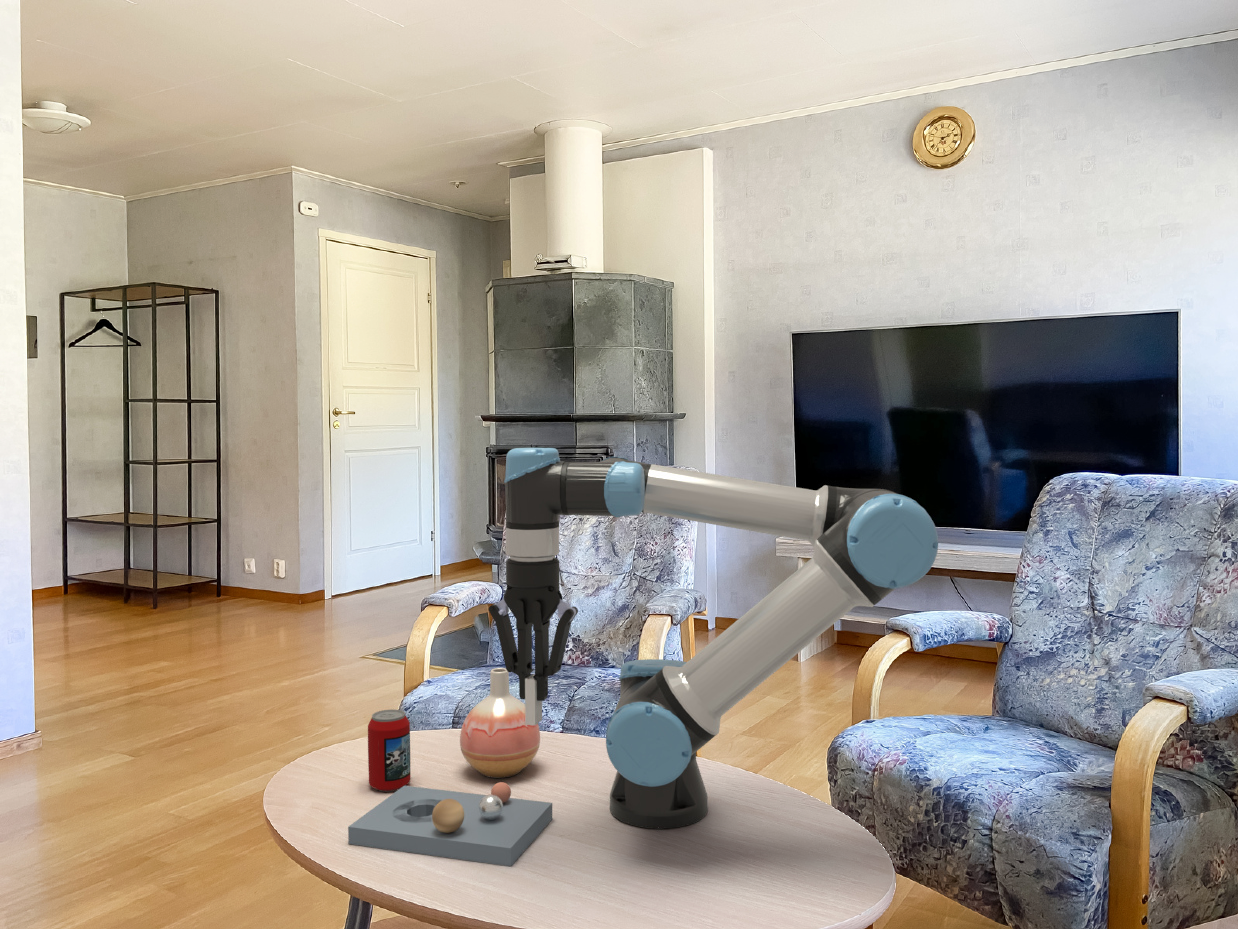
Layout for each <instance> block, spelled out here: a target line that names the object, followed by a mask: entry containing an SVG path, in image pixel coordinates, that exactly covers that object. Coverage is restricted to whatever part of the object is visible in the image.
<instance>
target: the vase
mask: <svg viewBox="0 0 1238 929" xmlns="http://www.w3.org/2000/svg"><path fill="white" fill-rule="evenodd" d="M509 673H510V672H508V671H507V670H506V667H497V668H492V669H491V670H490V672H489V674H490V680H489V682H490V683H489V684H490V685H489V687H490V688H489V694H488V695H487V696H486V697H485V698H484V699H482V700H481V701H479V702H478V703H477V704H476V705H474V707H473V708H472V709H471V710H470V711H469V713H468V714H467V716H466V717H465V719H464V720H463V723H462V726H461V730H460V735H459V746H460V751H461V754H462V756H463V757H464V759H465V760H466V762H467V763H468V764H469V766H470V767H472V768H473V769H475V770H476V771H477V772H478V773H480V774H481V775H483V777H488V778H495V779H497V778H498V779H499V778H500V779H503V778H509V777H513V776H516V775H517V774H519V773H520V772H522V771H523V770H524V768H526V767H527V766H528V765H530V763H532V761H533V760H534V758H536V756H537V753H538V751H539V750H540V749H539V748H540V744H541V731H540V726H539V723H538V724H536V725H525V702H523V701H521V699H518V698H517V697H515V696H514V695H512V694H511V693H510V676H509Z"/></svg>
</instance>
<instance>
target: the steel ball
mask: <svg viewBox="0 0 1238 929" xmlns="http://www.w3.org/2000/svg"><path fill="white" fill-rule="evenodd" d="M485 795H486V796H485V797H483V798H482V799H481V801H480V803H479V807H478V809H479V813H480V815H481V816H482V817H483V818H484V819H486V820H494V819H496V818H498V817H499V816H500V814H501V812H502V809H503V804H502V801H501V799H500V798H499V797H498V796H496V795H492V794H491V793H490V794H485Z"/></svg>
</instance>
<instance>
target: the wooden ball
mask: <svg viewBox="0 0 1238 929" xmlns="http://www.w3.org/2000/svg"><path fill="white" fill-rule="evenodd" d="M463 820H464V809H463V807H462V805H461V804H460V803H459V802H458V801H456V800H453V799H445V800H442V801H440V802H439V803H438V804H437V805H436V806H435V808H434V810H433V812H432V821H433V824H434V826H435V827H436V828H437V829H438V830H439V831H441V832H444V833H451V832H454V831H456V830H457V829H458V828H459V827H460V826H461V825H462V823H463Z"/></svg>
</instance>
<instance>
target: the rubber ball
mask: <svg viewBox="0 0 1238 929" xmlns="http://www.w3.org/2000/svg"><path fill="white" fill-rule="evenodd" d="M490 794H492V795H496V796H498V797H499V798H500V799H501V801H502V803H504V802H506V801H507V800H508V799H509V798H511V796H512V795H511V794H512V790H511V787H510V785H508V783H507V782H501V781H500V782H499V781H498V782H497V783H495V784H494V785H493V786H492V787H491V791H490Z"/></svg>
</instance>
